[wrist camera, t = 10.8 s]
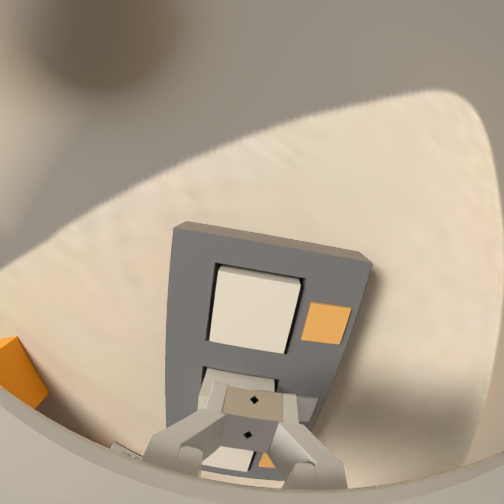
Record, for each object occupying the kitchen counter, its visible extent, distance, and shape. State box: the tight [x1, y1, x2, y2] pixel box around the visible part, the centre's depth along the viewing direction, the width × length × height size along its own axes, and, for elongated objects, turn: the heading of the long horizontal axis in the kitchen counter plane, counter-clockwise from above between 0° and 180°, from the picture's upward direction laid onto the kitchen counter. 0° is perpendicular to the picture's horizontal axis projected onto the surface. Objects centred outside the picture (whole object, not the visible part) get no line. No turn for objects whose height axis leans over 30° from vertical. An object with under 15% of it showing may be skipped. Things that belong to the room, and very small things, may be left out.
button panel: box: [165, 221, 372, 481], centre depth 19 cm, size 11×22×3 cm, turn 170°
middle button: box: [198, 368, 275, 410], centre depth 16 cm, size 4×4×3 cm
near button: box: [209, 264, 301, 354], centre depth 17 cm, size 4×4×3 cm
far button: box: [202, 446, 254, 472], centre depth 20 cm, size 4×4×3 cm
